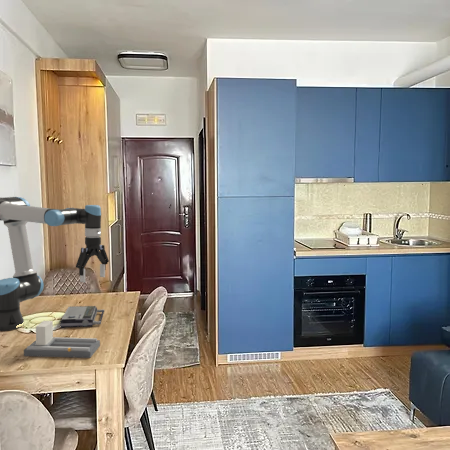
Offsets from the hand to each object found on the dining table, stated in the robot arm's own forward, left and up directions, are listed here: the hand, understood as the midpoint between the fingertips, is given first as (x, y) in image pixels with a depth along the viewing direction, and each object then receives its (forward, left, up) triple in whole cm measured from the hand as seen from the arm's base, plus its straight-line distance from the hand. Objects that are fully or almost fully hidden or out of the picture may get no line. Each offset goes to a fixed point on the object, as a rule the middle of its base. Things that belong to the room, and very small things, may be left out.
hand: (92, 279), depth 224 cm
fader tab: (-12, -30, -22) cm, 39 cm away
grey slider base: (-4, -30, -25) cm, 39 cm away
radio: (-9, +13, -26) cm, 30 cm away
